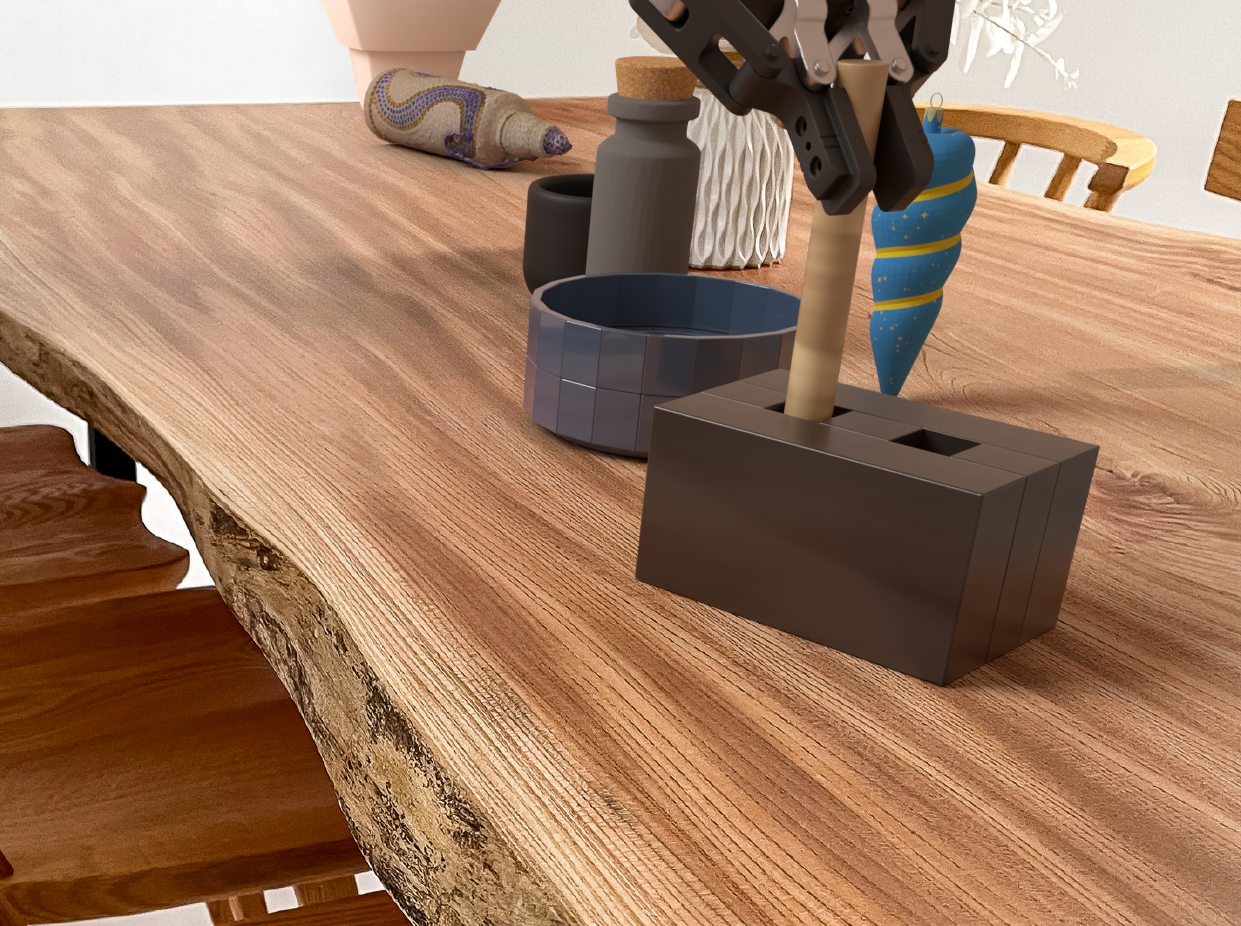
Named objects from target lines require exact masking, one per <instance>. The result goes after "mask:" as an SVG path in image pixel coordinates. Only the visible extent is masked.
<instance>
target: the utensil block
mask: <svg viewBox="0 0 1241 926" xmlns="http://www.w3.org/2000/svg"><path fill="white" fill-rule="evenodd" d="M789 375H790V371H788V370H784V369H776V370H773V371H769V372H766V373H763V374H759V375H756V376H752V377H749V378H745V379H742V380H739V381H736V382H732V383H729V384H725V385H722V386H719V387H715V388H712V389H708V390H705V391H702V392H700V393H696V394H693V395H689V396H686V397H682V398H679V399H676V400H672V401H669V402H665V403H662V404H659V405H655V406H654V408H653V417H652V426H651V435H650V444H649V454H648V458H647V464H646V472H645V482H644V492H643V501H642V509H641V519H640V528H639V535H638V536H639V537H638V546H637V555H636V562H635V563H636V564H635V572H634V578H635V579H636V580H637V581H641V582H644V583H647V584H649V585H652V586H655V587H658V588H661V589H663V590H665V591H666V590H667V591H669V592H672V593H675V594H677V595H680V596H684V597H686V598H689V599H692V600H695V601H698V602H700V603H703V604H707V605H709V606H712V607H715V608H718V609H720V610H723V611H726V612H729V613H731V614H735V615H738V616H741V617H743V618H747V619H748V620H749V619H750V620H752V621H755V622H757V623H759V624H760V623H761V624H763V625H766V626H769V627H772V628H774V629H777V630H780V631H784V632H787V633H789V634H792V635H795V636H798V637H801V638H804V639H807V640H809V641H812V642H816V643H818V644H821V645H823V646H825V647H828V648H832V649H835V650H837V651H841V652H843V653H846V654H848V655H852V656H855V657H857V658H861V659H864V660H866V661H869V662H872V663H875V664H877V665H881V666H882V667H883V666H884V667H886V668H889V669H891V670H895V671H897V672H901V673H903V674H907V675H909V676H912V677H915V678H918V679H921V680H924V681H926V682H929V683H932V684H935V685H937V686H941V687H944V686H946V685H947V684H950V683H952V682H953V681H955V680H957V679H959V678H960V677H962V676H964V675H966V674H968V673H969V672H972V671H974V670H975V669H977V668H980V667H981V666H983V665H984V664H987V663H989V662H991V661H993V660H995V659H996V658H998V657H1001V656H1002V655H1004V654H1006V653H1008V652H1009V651H1012V650H1013V649H1015V648H1017V647H1019V646H1021V645H1023V644H1025V643H1027V642H1029V641H1030V640H1033V639H1034V638H1036V637H1038V636H1040V635H1042V634H1044V633H1045V632H1047V631H1050V630H1051V629H1053V628H1055V627H1057V624H1058V619H1059V615H1060V612H1061V607H1062V604H1063V599H1064V595H1065V591H1066V587H1067V584H1068V580H1069V579H1068V578H1069V575H1070V571H1071V567H1072V563H1073V558H1074V555H1075V550H1076V546H1077V543H1078V539H1079V534H1080V531H1081V530H1080V529H1081V526H1082V523H1083V518H1084V515H1085V514H1084V513H1085V509H1086V506H1087V501H1088V497H1089V493H1090V489H1091V485H1092V481H1093V477H1094V473H1095V468H1096V465H1097V461H1098V457H1099V453H1100V449H1101V446H1100V445H1098V444H1095V443H1090V442H1086V441H1083V440H1077V439H1074V438H1070V437H1065V436H1062V435H1057V434H1053V433H1048V432H1044V431H1041V430H1036V429H1032V428H1027V427H1024V426H1020V425H1015V424H1011V423H1007V422H1003V421H999V420H995V419H991V418H987V417H982V416H978V415H974V414H971V413H966V412H961V411H958V410H953V409H951V408H950V409H949V408H945V407H942V406H937V405H933V404H928V403H926V402H925V403H924V402H922V401H921V402H920V401H917V400H912V399H909V398H904V397H901V396H900V397H899V396H897V397H896V396H892V395H888V394H883V393H881V392H879V391H876V390H875V391H874V390H871V389H866V388H863V387H859V386H854V385H850V384H846V383H842V382H838V384H837V391H836V397H835V403H834V409H833V415H832V418H831V419H828V420H825V421H822V422H819V423H817V422H813V421H809V420H806V419H802V418H798V417H794V416H790V415H786V414H784V409H785V402H786V396H787V389H788V382H789Z"/></svg>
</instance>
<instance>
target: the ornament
mask: <svg viewBox="0 0 1241 926" xmlns="http://www.w3.org/2000/svg"><path fill="white" fill-rule="evenodd" d="M937 94H938V95H939V96H940V98H941V102H940V105H939V106H933V103H932V100H933V98H934V96H935V95H937ZM943 102H944V98H943V95H942V93H940V92H935V93H933V94H932V95H931V97H930V101H929V104H930V106H927V107H925V110H924V115H923V124H922V126H923V129H924V133H925V134H926V137H927V139H928V143H929V144H930V147H931V150H932V152H933V155H934V170H933V171H932V177H931V181H930V183H929V185H928V186H927V187H926V188H925V189H924V190H923V191H922V192H921V193H920V194H919V195H918V197H917V198H916V199H915V200H914V201H913V202H912V203H911V204H910V205H909V206H908V207H907V208H906V209H905V210H903V211H894V212H883V211H881V210H880V208H879V207H878V204H877V202H876V203H875V205H874V207H873V209H872V212H871V218H870V224H871V225H870V227H871V233H872V238H873V243H874V247H875V251H876V255H875V257H874V260H873V262H872V266H871V271H870V283H871V290H872V291H871V292H872V298H873V304H874V307H873V311H872V314H871V317H870V320H869V338H870V339H869V340H870V344H871V350H872V354H873V359H874V364H875V369H876V375H877V380H878V385H879V391H880V392H879V393H883V394H888V395H892V396H896V397H899V394H900V392H901V390H902V388H903V386H904V384H905V383H906V380H907V378H908V376H909V375H910V372H911V370H912V369H913V366H914V364H915V362H916V360H917V358H918V357H919V355H920V352H921V351H922V348H923V346H924V344H925V342H926V340H927V339H928V336H929V335H930V333H931V331H932V330H933V328H934V325H935V323H936V322H937V319H938V317H939V314H940V312H941V309H942V307H943V301H944V286H945V284H946V282H947V281H948V279H949V278H950V276H951V274H952V273H953V271H954V269H955V267H956V265H957V264H958V261H959V260H960V259H959V258H960V256H961V252H962V247H963V246H962V245H963V243H962V241H963V240H962V231H963V229H964V228H965V226H966V224H967V222H968V221H969V220H970V217H971V216H972V213H973V211H974V209H975V207H976V203H977V200H978V187H977V181H976V180H977V179H976V175H975V169H974V164H975V159H976V153H977V152H976V150H977V149H976V144H975V141H974V139H973V138H972V137H971V135H969V134H968V133H967V132H965V131H964V130H962V129H958V128H953V127H952V128H951V127H944V126H942V125H943V121H944V116H945V111H946V110H945V108H944V107H942V106H943Z"/></svg>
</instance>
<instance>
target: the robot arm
mask: <svg viewBox="0 0 1241 926" xmlns="http://www.w3.org/2000/svg"><path fill="white" fill-rule="evenodd" d="M956 1H957V0H628V1H627V2H628V4H629V6H630V8H631V9H632V11H633V12H635V14H636V15H637V16H638V17H639V18H640V19H641V20H642V21H643V22H644V23H645V24H646V26H648V28H649V29H650V30H651V31H652V32H653V33H654V34H655V35H656V36H657V38H659V39H660V40H661V42H663V44H664V45H666V47H667V48H668V49H670V51H671V52H673V54H674V55H675V57H676V58H679V59H680V60H681V61H682V62H683V63H684V64H685V65H686V66H687V67H688V69H689V70H690V71H691V72H692V73H693V74H694V75H695V76H696V77H697V78H698V81H700V83H702V85H703V86H704V87H705V88H706V89H707V91H709V92H710V93H711V94H712V95H713V96H714V97H715V99H717V101H719V103H720V104H721V105H722V106H723V107H724V108H725V109H726V110H727V111H728V112H729V113H731V114H732V115H734V116H737V117H746V116H748V115H749V114H750V113H751V112H752V110H753V109H754V110H757V111H760V112H764V113H767V114H769V116H770V118H771V120H772V122H773V123H774V124H775V125H776V126H777V127H778V128H781V129H783V130H784V131H785V130H786V133H787V136H788V139H789V141H790V143H791V146H792V149H793V151H794V152H793V153H794V155H795V156H796V160H797V163H799V168H800V171H801V173H802V176H803V179H804V182H805V184H806V187H807V189H808V190H809V192H810V193H811V195H812V196H813V197H814V198H815V200H817V201H819V200H820V201H821V203H822V206H823V209H824V211H825V213H826V214H827V215H829V216H836V215H848V214H850V213H852V212H853V210H854V209H855V208H856V207H857V206H858V205H859V204H860V203H861V202H862V200H863V199H864V198H865V197H866V196H867V195H868V196H869V194H870V193H871V192H872V193H873V196H874V198H875V202H876V203H877V204H878V207H879V208H880V210H881V211H883V212H894V211H903V210H905V209H906V208H907V207H908V206H909V205H910V204H911V203H912V202H913V201H914V200H915V199H916V198H917V197H918V195H919V194H920V193H921V192H922V191H923V190H924V189H925V188H926V187H927V186H928V185H929V183H930V181H931V177H932V171H933V170H934V155H933V152H932V150H931V147H930V144H929V143H928V139H927V137H926V134H925V133H924V129H923V124H922V121H921V119H920V116H919V114H918V111H917V109H916V105H915V103H914V100H913V99H914V98H915V95H916V94H917V92H919V91H920V89H921V88H922V87H923V86H924V84H925V83H926V82H927V81H928V80H929V79H930V77H931V76H932V75H933V74H934V73H936V72H937V71H939V69H940V68H941V67H942V66H943V64H945V63H946V61H947V59H948V57H949V51H950V44H951V37H952V30H953V23H954V14H955V9H956V8H955V7H956V3H957V2H956ZM722 37H723V38H724V39H725V40H726V41H727V42H728V44H729V45H731V47H732V48H733V49H734V50H735V51H736V52H737V53H738V54H739V55H740V56H741V57H742V59H743V63H742V64H741V66H740V67H739V69H738V67H737V66H736V65H735V64H734V63H733V62H732V61H731V60H730V59H729V57H727V55H725V54H724V52H723V51H722V50H721V48H720V41H721V39H722ZM866 54H867V55H868V57H869V60H878V61H885V62H888V63H889V71H888V77H887V84H886V90H885V96H884V102H883V108H882V114H881V120H880V127H879V133H878V139H877V145H876V151H875V157H874V163H873V160H872V158H871V155H870V152H869V150H868V147H867V144H866V142H865V139H864V136H863V134H862V131H861V128H860V126H859V123H858V120H857V118H856V115H855V112H854V110H853V107H852V105H851V102H850V99H849V97H848V94H847V91H846V89H845V87H840V88H832V85H833V82H834V80H835V79H836V76H837V70H836V67H835V65H836V61H837V60H842V59H865V56H866Z"/></svg>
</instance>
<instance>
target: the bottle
mask: <svg viewBox="0 0 1241 926" xmlns="http://www.w3.org/2000/svg"><path fill="white" fill-rule="evenodd" d="M614 66H615V77H616V87H617V91H616V92H613V93H611V94H608V97H607V102H606V103H607V104H606V107H607V108H606V112H607V113H606V114H607V115H609V116H611V117H614V118H615V129H614V130H615V131H614V133H613V134H612V135H610V136H608V137H606V138H605V139H604V140H602V141H601V142H600V143H599V144H598V146H597V150H596V155H595V166H594V174H595V175H594V185H593V196H592V207H591V219H590V230H589V241H588V252H587V264H586V275H591V274H602V273H613V272H669V273H687V274H689V267H690V258H691V248H692V240H693V232H694V221H695V215H696V205H697V196H698V187H699V178H700V170H701V160H702V151H701V148H700V147H699V146H698V144H697V143H695V141H693V140H692V139H690V138H689V137H688V127H689V122H691V121H694V120H696V119H698V118H699V116H700V114H701V104H702V101H701V98H699V97H697V96H696V95H694V93H695V90H696V86H697V82H698V81H699V79H698V78H697V77H696V76H695V75H694V74H693V73H692V72H691V71H690V70H689V69H688V67H687V66H686V65H685V64H684V63H683V62H682V61H681V60H680V59H679V58H678V57H676V56H675V57H674V56H662V55H661V56H660V55H659V56H658V55H637V56H636V55H634V56H623V57H619V58H616V59H615V60H614Z"/></svg>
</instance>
